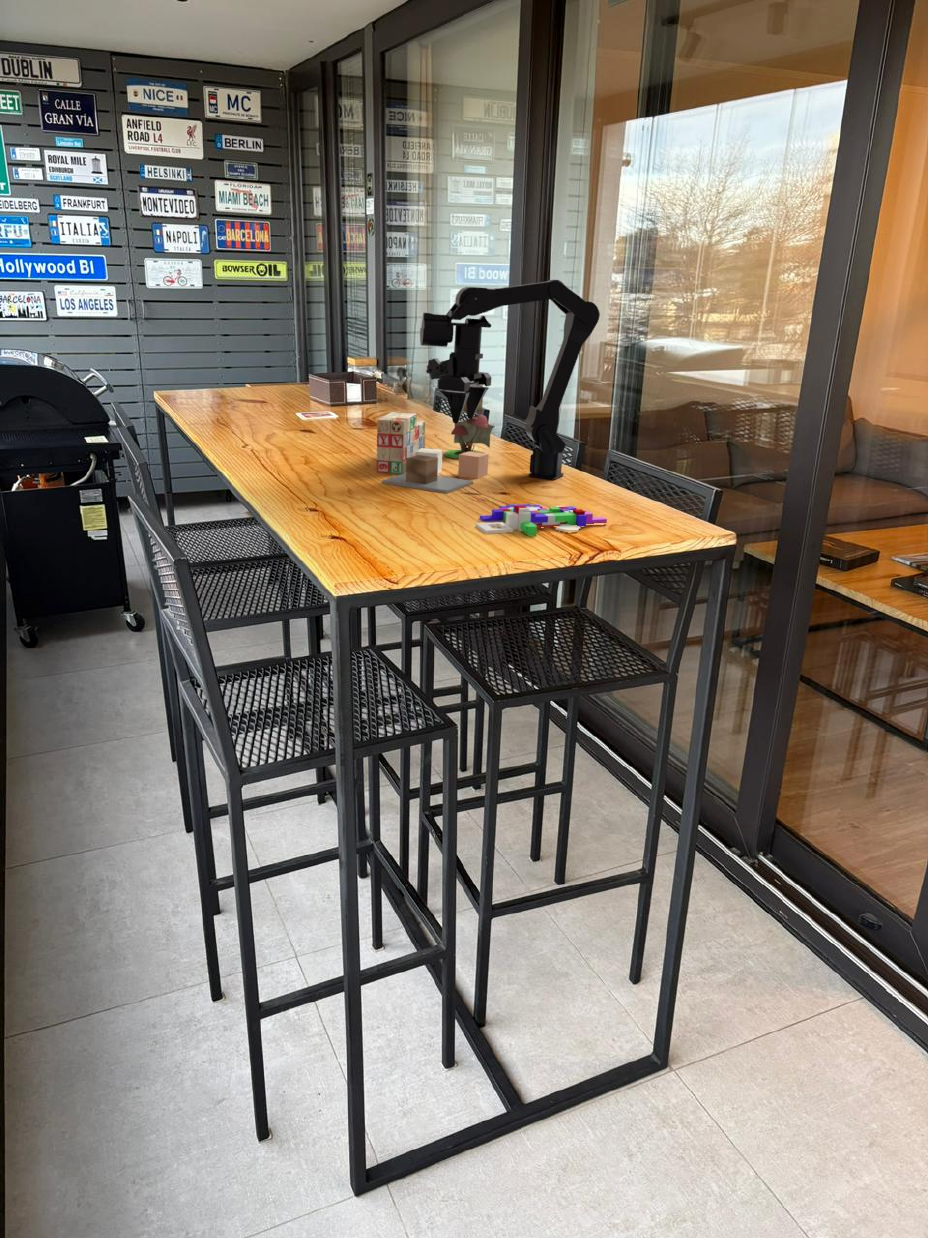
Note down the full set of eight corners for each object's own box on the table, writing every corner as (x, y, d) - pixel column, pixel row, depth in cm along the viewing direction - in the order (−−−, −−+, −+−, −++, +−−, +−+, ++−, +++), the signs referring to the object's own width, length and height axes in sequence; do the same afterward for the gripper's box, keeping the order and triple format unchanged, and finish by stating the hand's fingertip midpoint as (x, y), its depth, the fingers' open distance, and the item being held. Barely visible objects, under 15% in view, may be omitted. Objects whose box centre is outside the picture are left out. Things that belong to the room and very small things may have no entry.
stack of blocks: (400, 456, 225) (401, 406, 221) (425, 458, 224) (426, 408, 220) (376, 472, 206) (376, 418, 201) (402, 475, 205) (403, 420, 200)
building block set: (570, 507, 183) (572, 486, 182) (618, 534, 165) (621, 510, 164) (453, 512, 175) (454, 490, 174) (491, 541, 157) (492, 516, 156)
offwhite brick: (441, 471, 210) (442, 449, 209) (436, 475, 206) (437, 453, 204) (420, 469, 211) (421, 448, 210) (415, 473, 207) (415, 451, 205)
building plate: (472, 483, 199) (472, 480, 198) (447, 493, 189) (447, 490, 188) (410, 474, 205) (410, 471, 205) (381, 483, 195) (381, 480, 195)
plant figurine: (484, 462, 222) (487, 400, 217) (436, 457, 226) (438, 396, 221) (498, 454, 233) (501, 395, 228) (452, 450, 237) (454, 391, 231)
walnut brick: (437, 480, 197) (437, 457, 196) (425, 484, 193) (426, 460, 191) (417, 477, 199) (417, 454, 198) (405, 481, 195) (406, 458, 193)
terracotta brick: (487, 475, 208) (488, 453, 206) (477, 479, 204) (478, 457, 202) (468, 472, 210) (469, 451, 208) (458, 476, 206) (459, 454, 204)
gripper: (448, 343, 207) (444, 412, 213) (416, 346, 191) (413, 421, 196) (494, 347, 204) (489, 417, 209) (465, 351, 187) (461, 427, 193)
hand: (462, 420), depth 202 cm, fingers open, 9 cm apart
